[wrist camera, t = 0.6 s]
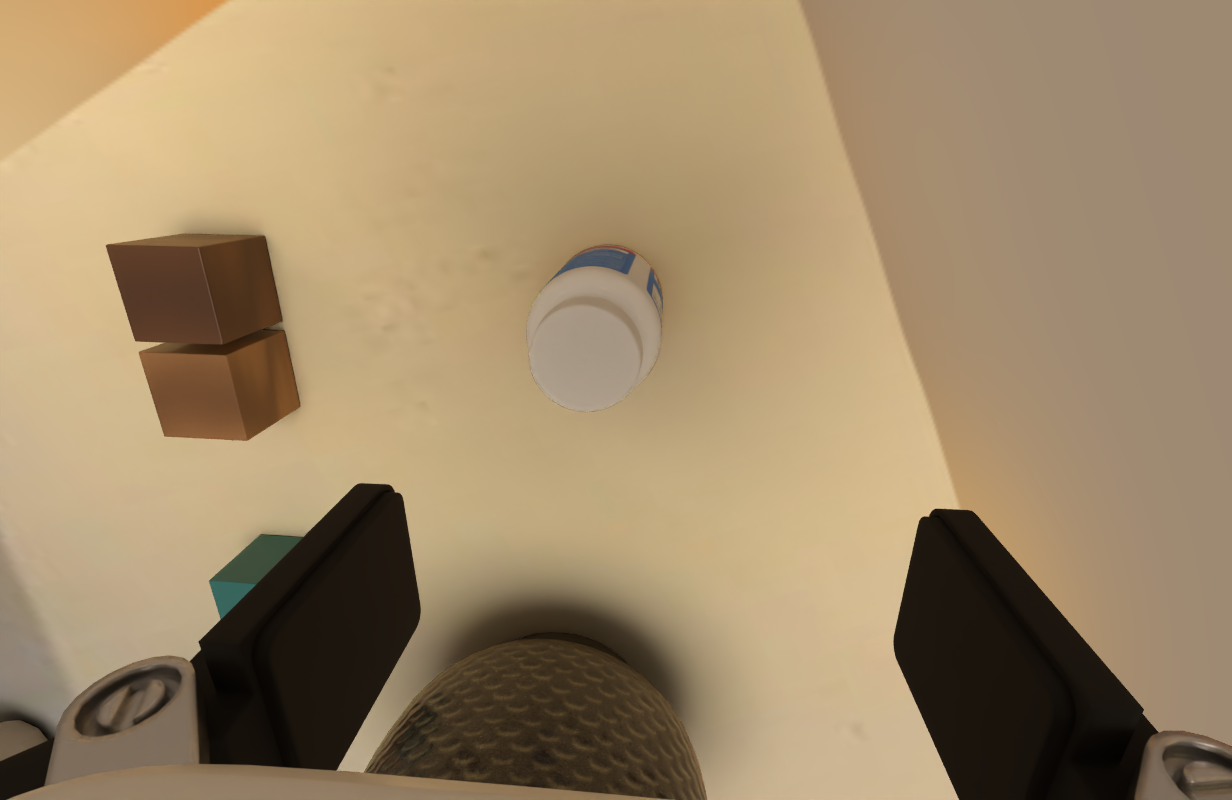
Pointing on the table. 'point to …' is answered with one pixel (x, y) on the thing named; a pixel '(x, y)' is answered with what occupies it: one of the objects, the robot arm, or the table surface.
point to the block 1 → (196, 287)
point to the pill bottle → (595, 328)
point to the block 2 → (221, 386)
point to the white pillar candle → (18, 737)
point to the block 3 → (248, 569)
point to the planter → (545, 724)
